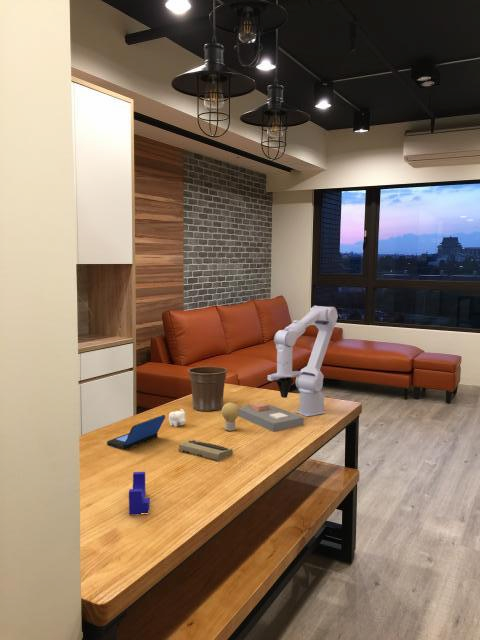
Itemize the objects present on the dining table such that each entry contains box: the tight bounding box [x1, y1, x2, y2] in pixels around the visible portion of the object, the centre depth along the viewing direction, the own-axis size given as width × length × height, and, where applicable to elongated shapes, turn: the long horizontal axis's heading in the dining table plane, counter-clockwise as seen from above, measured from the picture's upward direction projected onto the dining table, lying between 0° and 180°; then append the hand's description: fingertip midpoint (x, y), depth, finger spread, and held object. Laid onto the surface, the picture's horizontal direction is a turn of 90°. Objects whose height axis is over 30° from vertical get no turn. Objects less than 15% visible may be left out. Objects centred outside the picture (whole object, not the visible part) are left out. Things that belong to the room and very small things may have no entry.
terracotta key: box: [250, 401, 270, 412], centre depth 209 cm, size 5×5×3 cm
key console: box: [238, 402, 305, 433], centre depth 205 cm, size 14×24×3 cm, turn 34°
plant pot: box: [187, 365, 228, 412], centre depth 221 cm, size 16×16×16 cm
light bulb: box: [221, 402, 240, 432], centre depth 192 cm, size 6×6×10 cm
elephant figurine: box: [168, 408, 187, 428], centre depth 197 cm, size 7×8×6 cm
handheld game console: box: [106, 414, 166, 451], centre depth 179 cm, size 16×13×9 cm
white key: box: [269, 413, 288, 419], centre depth 200 cm, size 5×5×3 cm
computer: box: [178, 439, 234, 463], centre depth 170 cm, size 16×8×3 cm, turn 57°
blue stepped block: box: [128, 471, 151, 516], centre depth 134 cm, size 12×4×6 cm, turn 6°
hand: (284, 397), depth 203 cm, fingers closed
